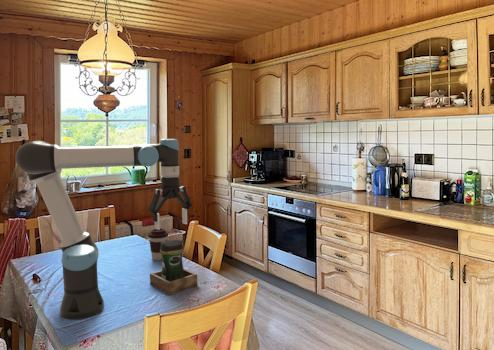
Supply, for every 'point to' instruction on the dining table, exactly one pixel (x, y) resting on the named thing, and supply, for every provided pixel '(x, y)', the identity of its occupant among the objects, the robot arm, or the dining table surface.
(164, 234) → the coffee cup
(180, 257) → the coffee jar
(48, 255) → the dining table surface
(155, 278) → the walnut caddy
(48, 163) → the robot arm
